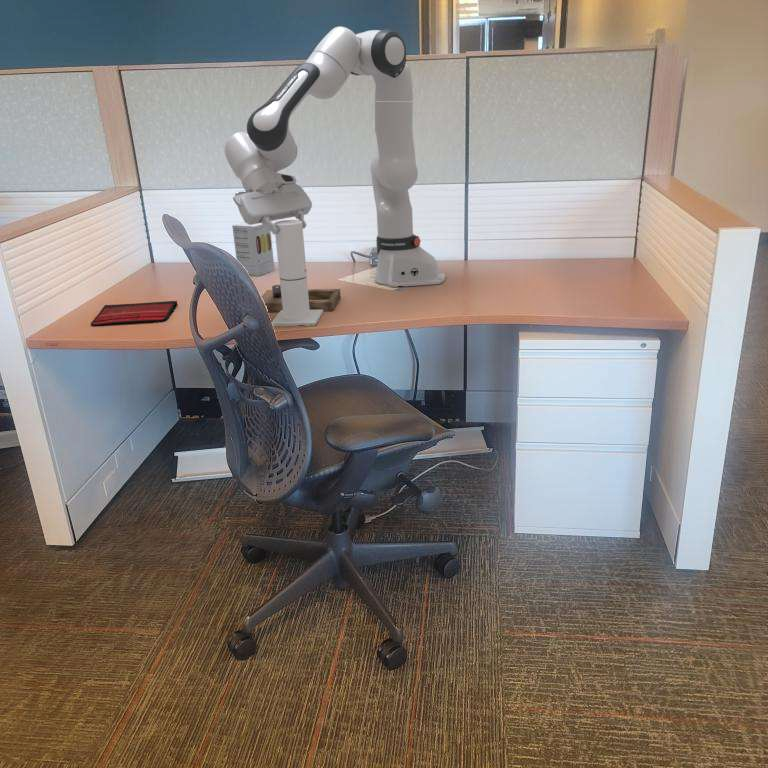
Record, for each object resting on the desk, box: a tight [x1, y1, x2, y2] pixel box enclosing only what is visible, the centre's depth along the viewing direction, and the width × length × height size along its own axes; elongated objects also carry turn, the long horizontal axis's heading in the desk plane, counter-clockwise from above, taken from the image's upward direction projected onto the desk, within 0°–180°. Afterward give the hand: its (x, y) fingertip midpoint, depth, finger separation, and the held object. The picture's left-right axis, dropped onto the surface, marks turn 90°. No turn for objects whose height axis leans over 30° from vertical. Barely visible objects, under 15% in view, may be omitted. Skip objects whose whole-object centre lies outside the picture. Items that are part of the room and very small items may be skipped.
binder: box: [90, 300, 178, 327], centre depth 192 cm, size 16×2×21 cm
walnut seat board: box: [261, 284, 341, 313], centre depth 195 cm, size 22×14×6 cm, turn 85°
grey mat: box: [271, 309, 325, 327], centre depth 182 cm, size 12×12×1 cm
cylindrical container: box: [273, 219, 310, 320], centre depth 177 cm, size 7×7×25 cm
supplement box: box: [231, 221, 276, 277], centre depth 231 cm, size 10×9×17 cm
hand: (290, 229), depth 173 cm, fingers closed on cylindrical container, 7 cm apart
